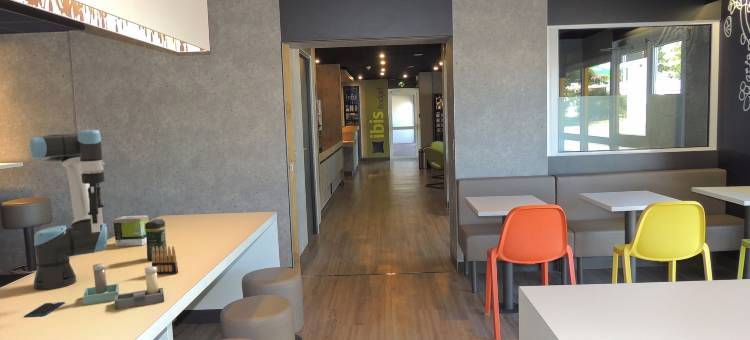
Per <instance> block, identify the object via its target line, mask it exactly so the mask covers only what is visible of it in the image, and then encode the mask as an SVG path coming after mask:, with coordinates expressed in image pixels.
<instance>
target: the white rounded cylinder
mask: <svg viewBox="0 0 750 340" xmlns="http://www.w3.org/2000/svg"><path fill="white" fill-rule="evenodd" d="M144 274H145V284H146V290H147V295H151V294H157V293H159V292H158V288H159V281H158V275H157V267H155V266H152V265H151V266H147V267H145V268H144Z"/></svg>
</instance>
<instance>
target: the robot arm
mask: <svg viewBox="0 0 750 340" xmlns="http://www.w3.org/2000/svg"><path fill="white" fill-rule="evenodd" d="M28 140H29V141H28V142H29V143H28V145H27V152H28V154H29V156H30V157H31V158H33V159H35V160H38V161H41V162H42V161H43V162H61V164H62V167H64V168H65V169H66V171H67V178H68V186H69V192H70V199H71V205H72V206H71V207H72V213H73V218H74V219H73V221H72V222H71V224H70V225H71V226H70V227H68V228H67V226H66V225H62V224H61V225H54V226H50V227H46V228H44V229H41V230H38V231H37V232H36V233H34V237H33V238H34V239H33V240H34V243H33V245H34V249H35V260H36V262H35V263H36V271H35V275H34V279H33V288H34V289H35V290H41V291H42V290H53V289H59V288H64V287H67V286H70V285H73V284H75V283H76V282H77V275H76V274H75V271H74V269H73V267H72V265H71V263H70V257H75V256H81V255H88V254H96V253H99V252H103V251H105V250H106V248H107V246H108V245H107V243H108V227H107V224H106V223H104V220H103V211H102V210H103V209H102V208H104V204H103V203H102V197H101V186H100V183H104V182H105V172H104V165H106V163H105V162H104V160H103V159H104V158H103V151H102V150H103V149H102V148H103V147H102V137H101V132H100V130H99V129H86V130H85V129H84V130H83V129H82V130H79V131H78V132H75V133H63V134H60V133H59V134H45V135H42V136H37V137H31V138H30V139H28Z"/></svg>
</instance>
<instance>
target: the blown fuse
mask: <svg viewBox="0 0 750 340" xmlns="http://www.w3.org/2000/svg"><path fill="white" fill-rule="evenodd" d="M92 269H93V277H94V278H93V279H94V287H95V288H96V294H102V293H108V291H107V285H108V284H107V277H106V276H107V275H106V265H105V263H97V264H92Z"/></svg>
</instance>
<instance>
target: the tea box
mask: <svg viewBox="0 0 750 340" xmlns="http://www.w3.org/2000/svg"><path fill="white" fill-rule="evenodd" d="M147 222H150V218H149V215H148V214H147V215H146V214H145V215H129V216H128V215H125V216H124V215H123V216H120V217H117V218H114V219H113V230H114V231H113V233H114V239H115V246H116V247H125V246H127V247H129V246H144V245H147V238H146V231H145V224H146V223H147Z"/></svg>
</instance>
